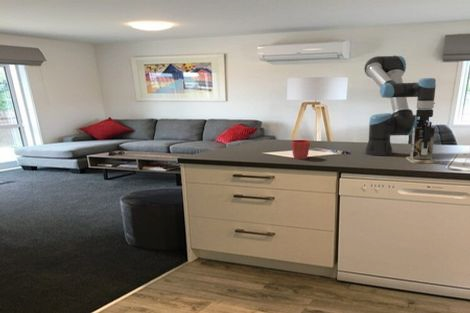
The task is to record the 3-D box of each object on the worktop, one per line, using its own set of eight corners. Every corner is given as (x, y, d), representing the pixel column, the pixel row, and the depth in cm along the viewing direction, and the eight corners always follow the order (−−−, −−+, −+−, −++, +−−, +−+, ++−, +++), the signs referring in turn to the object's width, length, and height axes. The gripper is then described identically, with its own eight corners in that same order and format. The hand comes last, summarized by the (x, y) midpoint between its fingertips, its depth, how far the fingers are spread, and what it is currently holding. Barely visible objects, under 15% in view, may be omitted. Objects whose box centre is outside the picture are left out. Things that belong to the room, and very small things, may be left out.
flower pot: (311, 156, 197) (311, 139, 195) (308, 160, 187) (308, 142, 185) (292, 155, 200) (293, 139, 198) (289, 159, 190) (289, 142, 188)
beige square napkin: (413, 163, 172) (413, 160, 172) (406, 158, 183) (406, 156, 183) (436, 163, 170) (436, 161, 170) (427, 158, 181) (428, 156, 181)
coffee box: (412, 158, 175) (415, 128, 172) (410, 156, 181) (412, 126, 178) (432, 159, 172) (435, 128, 169) (429, 157, 178) (431, 126, 175)
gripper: (441, 110, 161) (436, 157, 166) (425, 107, 180) (422, 149, 185) (424, 110, 163) (420, 156, 167) (410, 108, 182) (407, 149, 186)
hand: (421, 153), depth 176 cm, fingers closed on coffee box, 7 cm apart
